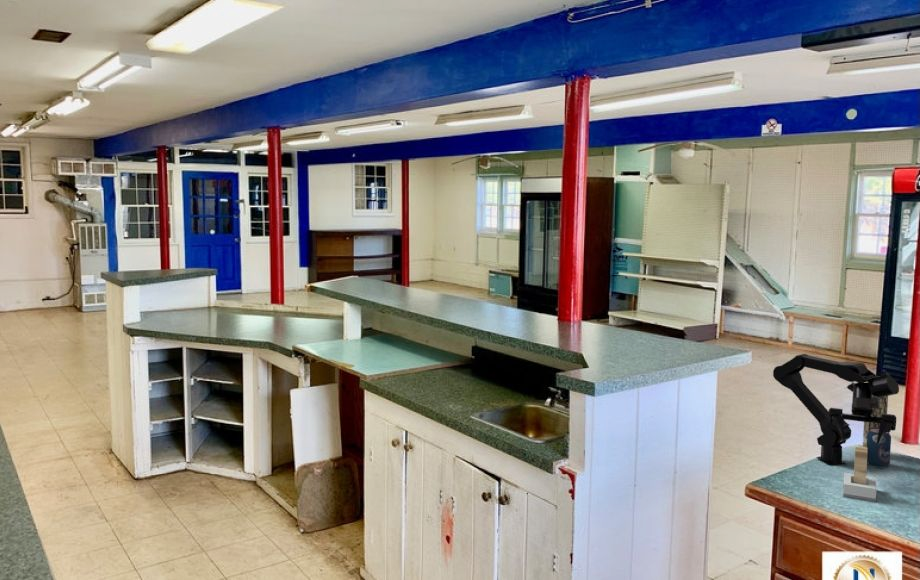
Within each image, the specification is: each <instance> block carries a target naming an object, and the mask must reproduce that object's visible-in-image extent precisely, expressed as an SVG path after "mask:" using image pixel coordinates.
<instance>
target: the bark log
mask: <svg viewBox="0 0 920 580" xmlns="http://www.w3.org/2000/svg"><path fill="white" fill-rule="evenodd" d="M873 397H876V396H873ZM876 398H878V397H876ZM888 404H889V396H885V397H880V398H878V408H873V414H872V417H880V418H882V413H883V414H888V406H889V405H888ZM879 427H880V424H878V423H869V422H863V433H862V447H866V448H867V434H868V432H869V431H870V429H871V428H879Z"/></svg>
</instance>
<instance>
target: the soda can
mask: <svg viewBox="0 0 920 580" xmlns="http://www.w3.org/2000/svg"><path fill="white" fill-rule="evenodd" d="M878 432H879V428H871V429H870V431H869V432H868V434H867V465H869V466H870V465H871V467H873V466H874V468H878V467H879V469H880V467H881V469H885V468H887V467H888V466H889V465H890V463H891V450H892V449H891V447H892V446H891V445H892V436H891V434H890V432H886V434H885V435H884V436H883V437H882V439H881V441H880V443H879V445H878V446H877V437H878ZM884 467H885V468H884Z"/></svg>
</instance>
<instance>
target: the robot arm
mask: <svg viewBox="0 0 920 580" xmlns="http://www.w3.org/2000/svg"><path fill="white" fill-rule="evenodd" d="M805 368H808V369H813V370H815V371H816V370H817V371H820V372H825V373H829V374H833V375H835V376H836V377H838V378H840V379H842V380H844V381H847V382H849V383H850V384H848V385H847V386H846V389H848V390H849V391H850V392H852V398H851V399H852V400H851V401H852V402H851V403H852V404H851V413H845V412H844V411H843V408H837V407H830V408H829V409H827V408H826V407H825V406H824V404H822V402H821V401H820V400H819V399H818V398H817V397H816V395H815V394H814V393H813V392H812V391H811V389H809V388H808V387H807V385H806V384H805V383H804V381H803V377H802V374H801V372H802V370H804V369H805ZM772 373H773V374H772V377H773V378H774V380H776V382H778V383H779V384H781V386H782V387H785V388H786V389H789V390H790V391H791V392H792V393H793V394H794V395H795V397H796V398H798V400H799V401H800V403H802V404H803V406H804V407H805V408H806V409H807V410H808V411H809V413H810V414H811V415H812V416H813V417H814V419H815V420H817V422H818V423H819V428H820V431H821V433H822V434H821V435H820V436H818V437H817V438H816V441H817V443H818V445H819V446H821V447H820V456H817V457H816V459H817V458H818V459H817V460H819V461H820V462H822V463H823V464H825V465H828V466H832V465H833V466H835V465H845V464H846V461H844V460H843V446H842V444H843V445H844V444H846V442H847V440H849V439H850V438H851V436H852V429H851V428H850V424H849V423H848V422H846V421H855V422H862V423H864V422H869V423H878V424H880V427H879V432H878V437H877V446H878V445H879V443H880V441H881V439H882V437H883V436H884V435H885V434H886V432H889V433H891V431H896V427H897V416H896V415H895V414H889V413H887V414H883V413H882V418H880V417H872V414H873V408H878V398H880V397H885V396H888V397H889V396H893V395H898V394H899V392H900V388H899V387H900V386H899V383H898V382H897V380H896V379H895V378H894V377H892V376H891V374H890V372H889V373H884V374H881V375H876V373H874V372H873V371H871V370H870V369H868V367H867V366H866V364H865V363H863V362H860V361H856V362H855V361H836V360H832V359H828V358H822V357H818V356H814V355H809V354H808V353H802V354H797V355H795V356H794V357H793V358H792V359H790V360H788V361H786V362H785V363H783V364H782V365H781V364H780V365H777V366H775V367H774V369H773V372H772ZM873 396H876V397H878V398H876V397H873ZM843 412H844V413H843Z"/></svg>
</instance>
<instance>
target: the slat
mask: <svg viewBox="0 0 920 580" xmlns="http://www.w3.org/2000/svg"><path fill="white" fill-rule="evenodd" d="M853 466H854V467H853V474H854V481H853V483H856V484H862V485H866V476H867V467H868V463H867V448H866V447H863V446H859V445H858V446H857V445H855V446H854V464H853Z"/></svg>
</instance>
